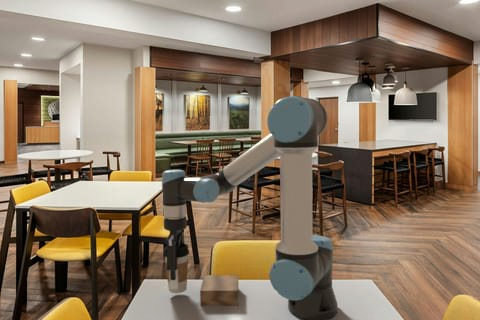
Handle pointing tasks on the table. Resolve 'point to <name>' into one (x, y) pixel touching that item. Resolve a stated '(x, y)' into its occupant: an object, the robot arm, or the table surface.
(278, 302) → the table surface
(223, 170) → the robot arm
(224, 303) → the walnut block
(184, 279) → the coffee cup
